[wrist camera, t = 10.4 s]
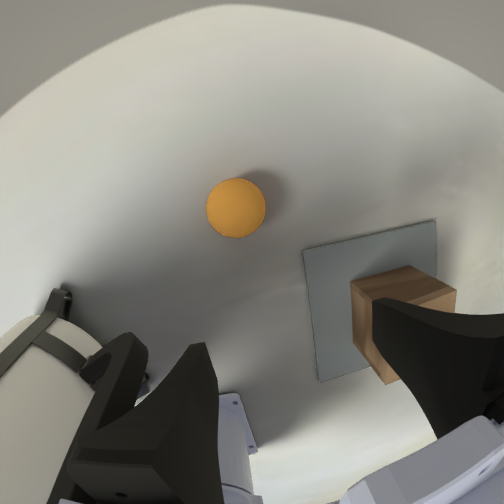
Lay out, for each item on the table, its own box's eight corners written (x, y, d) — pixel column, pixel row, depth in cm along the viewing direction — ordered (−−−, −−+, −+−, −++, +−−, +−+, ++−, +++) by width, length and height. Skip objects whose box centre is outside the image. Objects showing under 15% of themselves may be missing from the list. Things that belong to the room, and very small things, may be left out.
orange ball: (266, 226, 20) (275, 236, 16) (214, 237, 19) (212, 249, 16) (256, 173, 19) (263, 172, 15) (202, 184, 19) (197, 185, 15)
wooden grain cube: (407, 323, 22) (446, 357, 17) (352, 342, 22) (385, 385, 16) (409, 264, 21) (456, 289, 15) (350, 281, 21) (390, 315, 15)
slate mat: (427, 339, 24) (430, 341, 23) (318, 379, 23) (319, 382, 23) (432, 220, 21) (435, 221, 20) (302, 250, 20) (304, 252, 20)
